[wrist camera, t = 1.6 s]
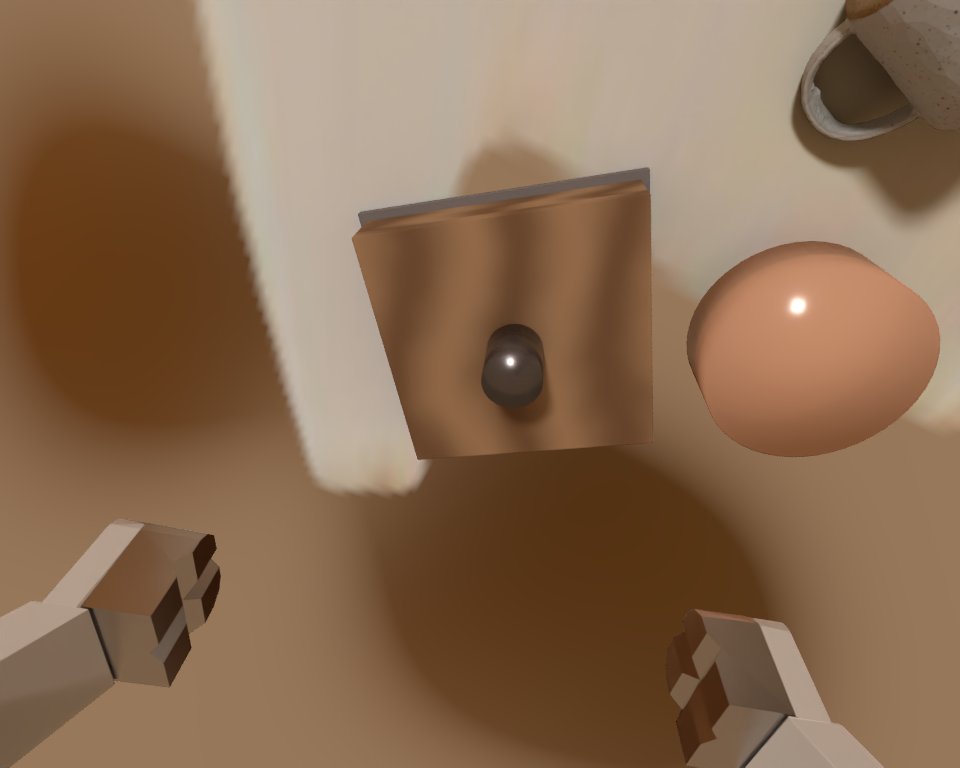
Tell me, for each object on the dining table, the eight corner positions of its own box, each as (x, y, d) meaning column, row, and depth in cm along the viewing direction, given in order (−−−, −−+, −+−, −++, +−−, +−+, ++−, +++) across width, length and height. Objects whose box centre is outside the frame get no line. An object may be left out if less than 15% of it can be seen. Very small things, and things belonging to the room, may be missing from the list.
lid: (640, 179, 33) (664, 216, 26) (645, 413, 42) (663, 482, 35) (367, 220, 36) (329, 262, 29) (425, 431, 44) (406, 497, 38)
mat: (648, 167, 33) (649, 169, 32) (651, 414, 42) (652, 418, 42) (360, 211, 36) (357, 214, 35) (422, 432, 45) (421, 436, 45)
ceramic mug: (950, -148, 25) (1089, -206, 18) (1054, -19, 27) (1212, -29, 20) (754, 74, 30) (808, 90, 24) (853, 168, 32) (928, 207, 26)
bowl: (893, 217, 33) (968, 258, 27) (856, 386, 39) (911, 449, 33) (682, 244, 35) (709, 288, 29) (679, 401, 41) (701, 463, 35)
